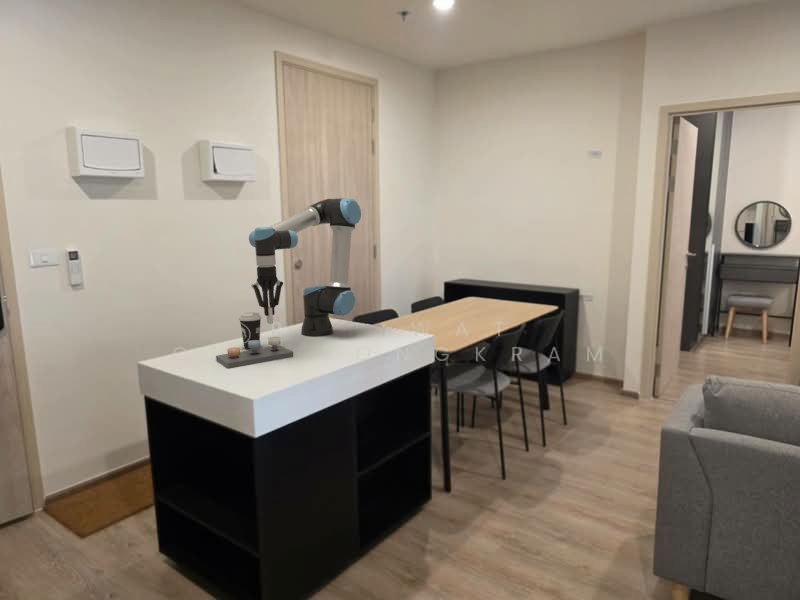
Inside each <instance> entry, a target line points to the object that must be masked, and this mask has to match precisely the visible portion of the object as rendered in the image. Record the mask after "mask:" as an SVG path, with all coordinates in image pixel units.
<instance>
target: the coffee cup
mask: <svg viewBox="0 0 800 600" xmlns="http://www.w3.org/2000/svg"><path fill="white" fill-rule="evenodd" d="M261 319H262V315H261V314H260V313H259V312H256V311H255V312H243V313H240V315H239V318H238V321H239V323H240V330H241V335H242V337H241V338H242V341H243V342H242V343H243V348H244V350H247V351H248V350H252V349H251V348H248V341H250V340H260V341H261Z"/></svg>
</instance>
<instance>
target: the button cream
mask: <svg viewBox="0 0 800 600" xmlns="http://www.w3.org/2000/svg"><path fill="white" fill-rule="evenodd" d="M267 340H268V341H267V342H268V345H269V346H270V347H272V349H277V348H278V347H277V346H278V345H279V346H280V345H281V337H279V336H271V337H268V338H267Z"/></svg>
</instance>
